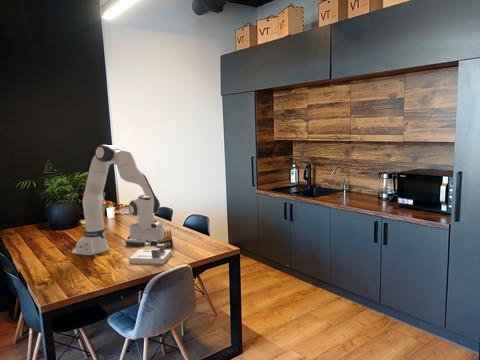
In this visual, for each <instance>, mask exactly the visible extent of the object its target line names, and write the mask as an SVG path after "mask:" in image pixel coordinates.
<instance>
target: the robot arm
mask: <svg viewBox="0 0 480 360" xmlns="http://www.w3.org/2000/svg"><path fill="white" fill-rule="evenodd" d="M94 152H95V153H94V156H93V157H92V159H91V163H90V166H89V171H88V175H87V178H86V183H85V188H84V193H83V197H82V201H81V202H82V209H83V216H84V217H83V218H84V224H85V230H84V231H83V232H82V235H83V236H82V237H81V238H80V239H79V240H77V241H76V244H75V248H74V249H73V250H72V252H71V253H72V254H74V255H83V256H92V255H96V254H101V253H104V252H107V251H108V250H110V247H109V244H108V243H107V242H108V241H107V237H106V234H107V233H106V228H105V223H104V213H103V203H102V198H103V193H104V190H105V186H106V182H107V177H108V174H109V169H110V166H111V165H112V164H113V165H116V167H117V171H118V175H119V177H120V179H122V180H123V181H124V182H127V183H132V184H134V185H138V186H139V187H140V188H141V190H142V191H143V194H141V195H138V197H137V198H136V199H132V200H131V201H130V202H129V203H128V212H129V214H131V215H132V216H135V217H138V218H137V219H138V221H137V222H132V223H130V224H129V236H130V238H131V239H142V240H143V242H144V244H143V245H144V247H148V248H149V247H151V246H152V245H151V241H152V240H162V239H163V238H164V231H165V229H164V227H163V226H162V225H163V222H162V221H160V220H158V219H155V217H154V214H156V213H157V212H159V210H160V207H161V203H160V201H159V199H158V197H157V196H156V195H155V192H154V190H153V188H152V187H151V183H149V180H148V178H147V176H146V175H145V174H144V173H142V172H141V171H140V170H139V168H138V167H137V164H136V161H135V158H134V156H133V154H132V152H131V151H130V150H129V149H125V148H124V147H122V146H121V147H120V146H117V145H108V144H100V145H98V146H97V147H96V148H95V151H94ZM146 239H148V241H149V243H147V242H146Z"/></svg>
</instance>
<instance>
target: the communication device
mask: <svg viewBox="0 0 480 360" xmlns="http://www.w3.org/2000/svg"><path fill="white" fill-rule="evenodd" d="M124 241H125V242H124V243H125V245H126V246H129V247H138V246H142V245H145V244H144V242H143V240H142V239H131V238H130V235H129V236H127V239H126V240H124ZM146 242H147V243H149V241H148V239H146ZM151 246H157V240H152V241H151Z"/></svg>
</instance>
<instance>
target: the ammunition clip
mask: <svg viewBox="0 0 480 360" xmlns="http://www.w3.org/2000/svg"><path fill="white" fill-rule="evenodd" d="M172 235H173V234H172V231H171V229H169V230H168V229H166V230H164V238H163V239H162V240H157V245H158V244H165V250H167V249H169V248H174V241H173V236H172ZM157 245H156V246H157Z"/></svg>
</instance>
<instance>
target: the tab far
mask: <svg viewBox="0 0 480 360" xmlns="http://www.w3.org/2000/svg"><path fill="white" fill-rule="evenodd" d="M155 246H156V247H155V248H160V252H164V251H165V250H166V249H165V244H158V245H155Z"/></svg>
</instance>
